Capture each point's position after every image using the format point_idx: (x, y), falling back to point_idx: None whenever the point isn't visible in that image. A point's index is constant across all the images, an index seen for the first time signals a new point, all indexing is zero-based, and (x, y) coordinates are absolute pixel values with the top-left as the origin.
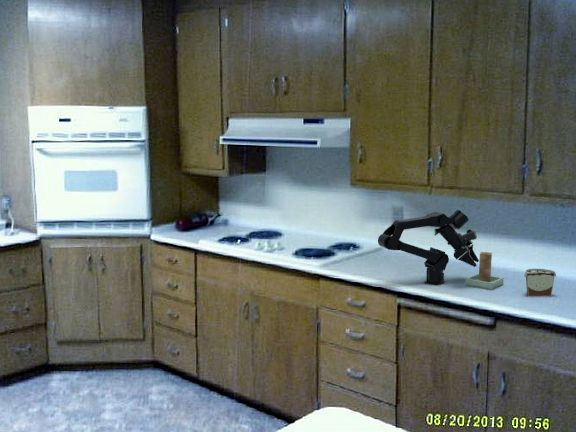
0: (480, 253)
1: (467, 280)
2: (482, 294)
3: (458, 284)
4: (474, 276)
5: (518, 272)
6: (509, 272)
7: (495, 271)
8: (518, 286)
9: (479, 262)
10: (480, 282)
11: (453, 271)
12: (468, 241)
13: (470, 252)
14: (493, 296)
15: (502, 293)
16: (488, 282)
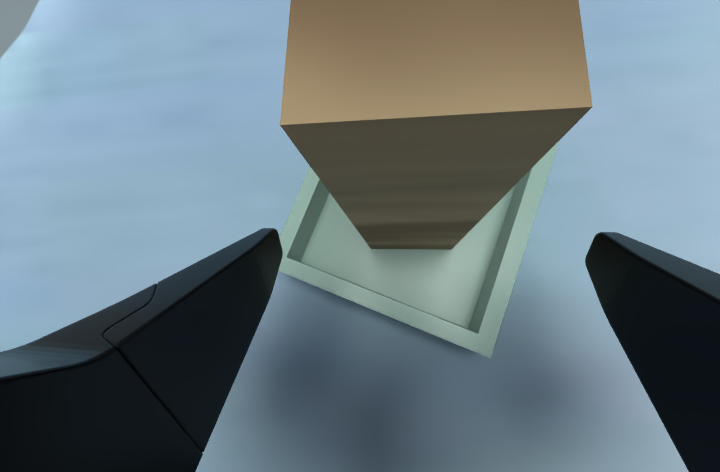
0: (508, 99)
1: (492, 337)
2: (697, 203)
3: (454, 404)
4: (357, 286)
5: (49, 72)
6: (53, 113)
7: (37, 185)
8: None
9: (507, 192)
10: (529, 223)
11: None
12: None
13: (149, 392)
14: (714, 127)
15: (590, 86)
16: (548, 157)
